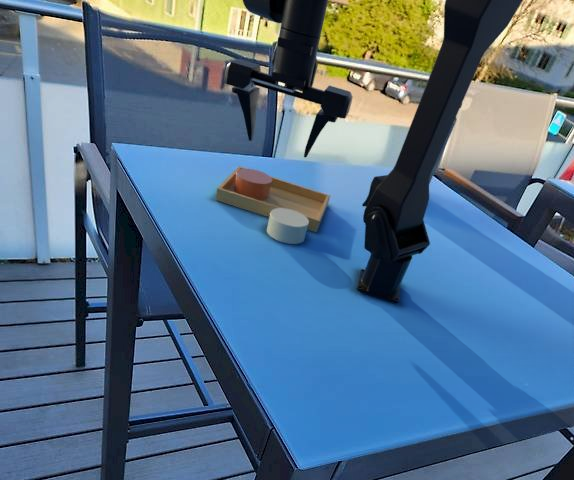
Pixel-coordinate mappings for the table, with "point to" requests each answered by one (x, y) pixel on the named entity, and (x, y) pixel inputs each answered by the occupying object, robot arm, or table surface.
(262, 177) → the reddish-brown short cylinder
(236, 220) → the table surface
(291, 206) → the serving tray
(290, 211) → the white short cylinder
